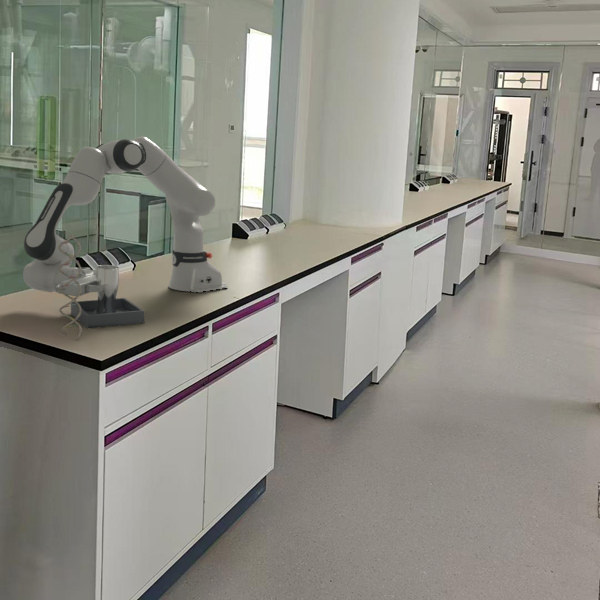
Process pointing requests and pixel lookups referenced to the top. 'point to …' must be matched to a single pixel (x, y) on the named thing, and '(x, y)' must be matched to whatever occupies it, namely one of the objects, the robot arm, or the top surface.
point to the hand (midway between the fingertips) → (109, 286)
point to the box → (108, 314)
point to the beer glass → (107, 288)
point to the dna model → (71, 284)
